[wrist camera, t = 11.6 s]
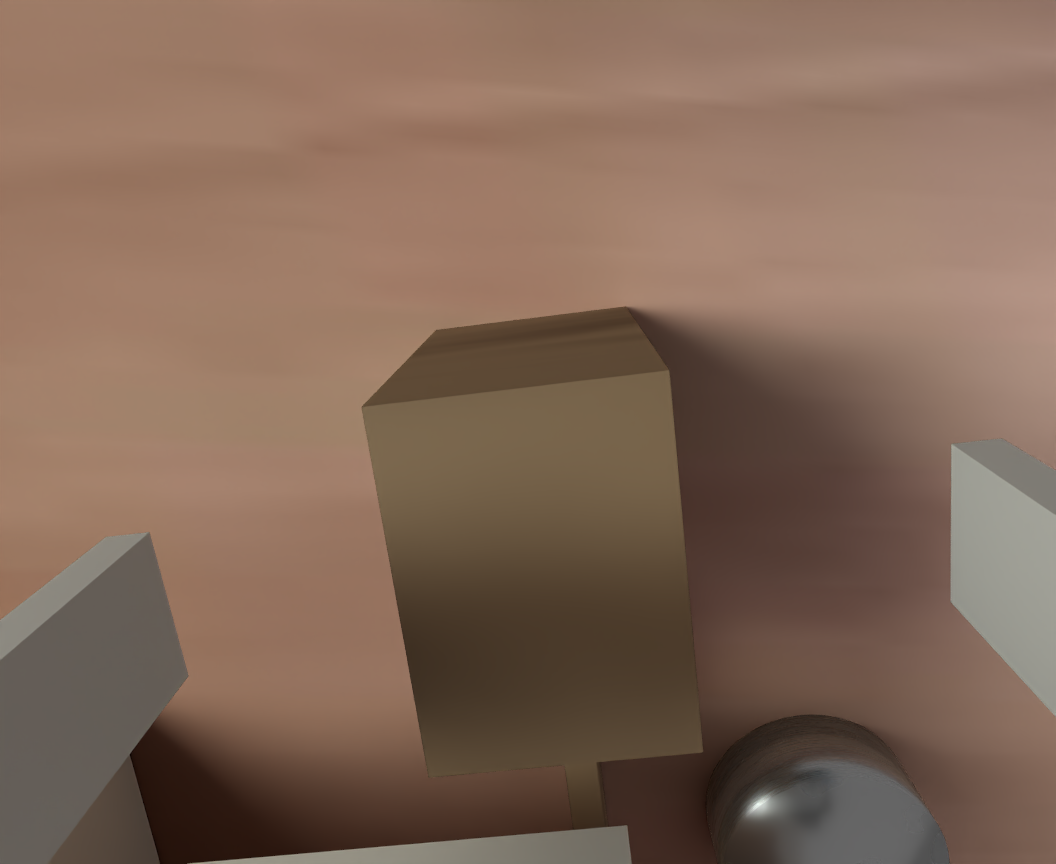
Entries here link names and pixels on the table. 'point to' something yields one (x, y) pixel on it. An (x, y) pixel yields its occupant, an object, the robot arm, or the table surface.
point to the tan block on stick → (539, 548)
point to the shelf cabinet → (517, 860)
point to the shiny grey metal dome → (818, 799)
